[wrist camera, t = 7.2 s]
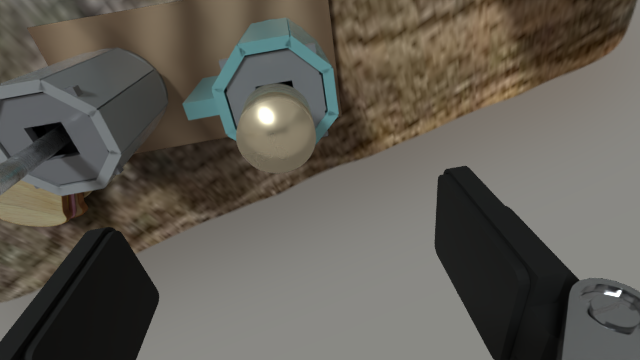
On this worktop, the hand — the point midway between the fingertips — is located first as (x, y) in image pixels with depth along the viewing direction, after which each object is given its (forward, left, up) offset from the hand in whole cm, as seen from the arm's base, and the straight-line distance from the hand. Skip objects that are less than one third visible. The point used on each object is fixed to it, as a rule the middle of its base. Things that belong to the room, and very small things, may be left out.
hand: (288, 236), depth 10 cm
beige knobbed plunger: (0, 0, -24) cm, 24 cm away
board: (+8, 0, -27) cm, 28 cm away
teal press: (+2, 0, -26) cm, 26 cm away
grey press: (+17, 0, -26) cm, 31 cm away
